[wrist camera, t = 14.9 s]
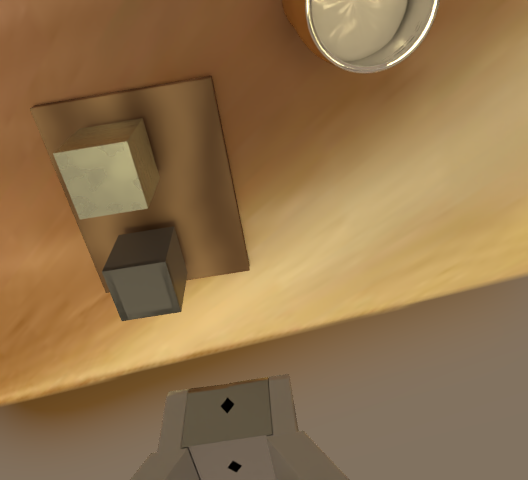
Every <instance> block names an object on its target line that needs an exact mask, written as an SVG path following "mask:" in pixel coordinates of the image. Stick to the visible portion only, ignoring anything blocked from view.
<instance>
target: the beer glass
mask: <svg viewBox="0 0 528 480" xmlns="http://www.w3.org/2000/svg"><path fill="white" fill-rule="evenodd" d="M439 2H440V0H282V5H283V9H284V12H285V15H286V17H287V19H288V21H289V22H290V24H291V25H292V26H293V27H294V28H295V29H296V32H297V33H298V35H299V37H300V38H301V40H302V41H303V42H304V44H305V45H306V46H307V47H308V48H309V49H310V50H311V51H312V52H313V53H314V54H315V55H317V56H318V57H319V58H321V59H323V60H324V61H326V62H328V63H330V64H332V65H335V66H337V67H339V68H341V69H344V70H346V71H350V72H354V73H375V72H379V71H383V70H386V69H389V68H391V67H393V66H395V65H397V64H398V63H400V62H402V61H403V60H404V59H406V58H407V57H408V56H409V55H411V54H412V53H413V52H414V51H415V50H416V49H417V48H418V46H419V45H420V44H421V43H422V41H423V40H424V39H425V37H426V35H427V34H428V32H429V30H430V28H431V26H432V24H433V22H434V20H435V17H436V14H437V11H438V7H439Z"/></svg>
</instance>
